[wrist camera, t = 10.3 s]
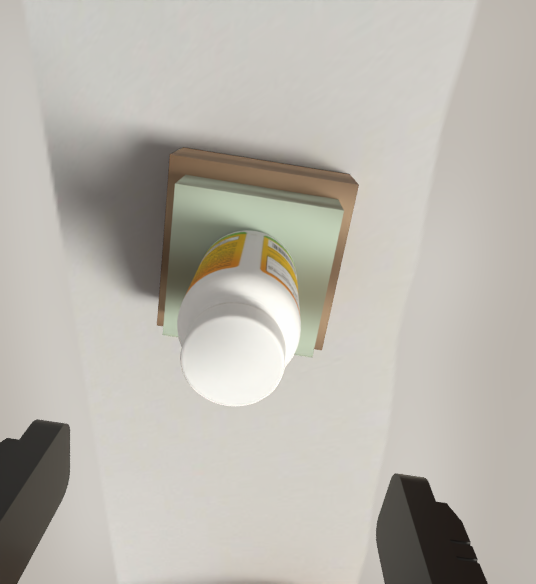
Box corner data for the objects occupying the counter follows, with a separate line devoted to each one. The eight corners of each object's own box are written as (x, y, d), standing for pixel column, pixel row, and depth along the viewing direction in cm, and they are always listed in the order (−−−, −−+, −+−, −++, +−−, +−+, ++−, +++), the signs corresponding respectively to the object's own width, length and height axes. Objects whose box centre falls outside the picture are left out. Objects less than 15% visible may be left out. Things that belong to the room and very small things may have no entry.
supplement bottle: (194, 309, 28) (153, 410, 19) (207, 219, 26) (168, 285, 17) (286, 326, 28) (288, 433, 19) (305, 238, 26) (318, 312, 17)
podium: (183, 147, 32) (157, 161, 25) (349, 174, 32) (367, 194, 25) (170, 301, 36) (144, 347, 29) (317, 323, 36) (325, 374, 30)
